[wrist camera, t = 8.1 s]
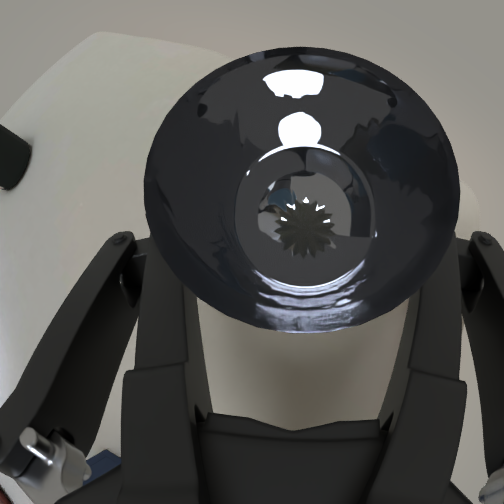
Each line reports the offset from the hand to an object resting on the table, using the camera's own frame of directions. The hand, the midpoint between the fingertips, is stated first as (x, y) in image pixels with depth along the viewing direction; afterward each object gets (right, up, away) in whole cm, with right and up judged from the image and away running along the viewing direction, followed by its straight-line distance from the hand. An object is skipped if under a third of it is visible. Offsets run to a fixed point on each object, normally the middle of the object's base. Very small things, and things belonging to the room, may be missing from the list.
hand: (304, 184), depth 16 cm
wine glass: (+1, -5, +5) cm, 7 cm away
